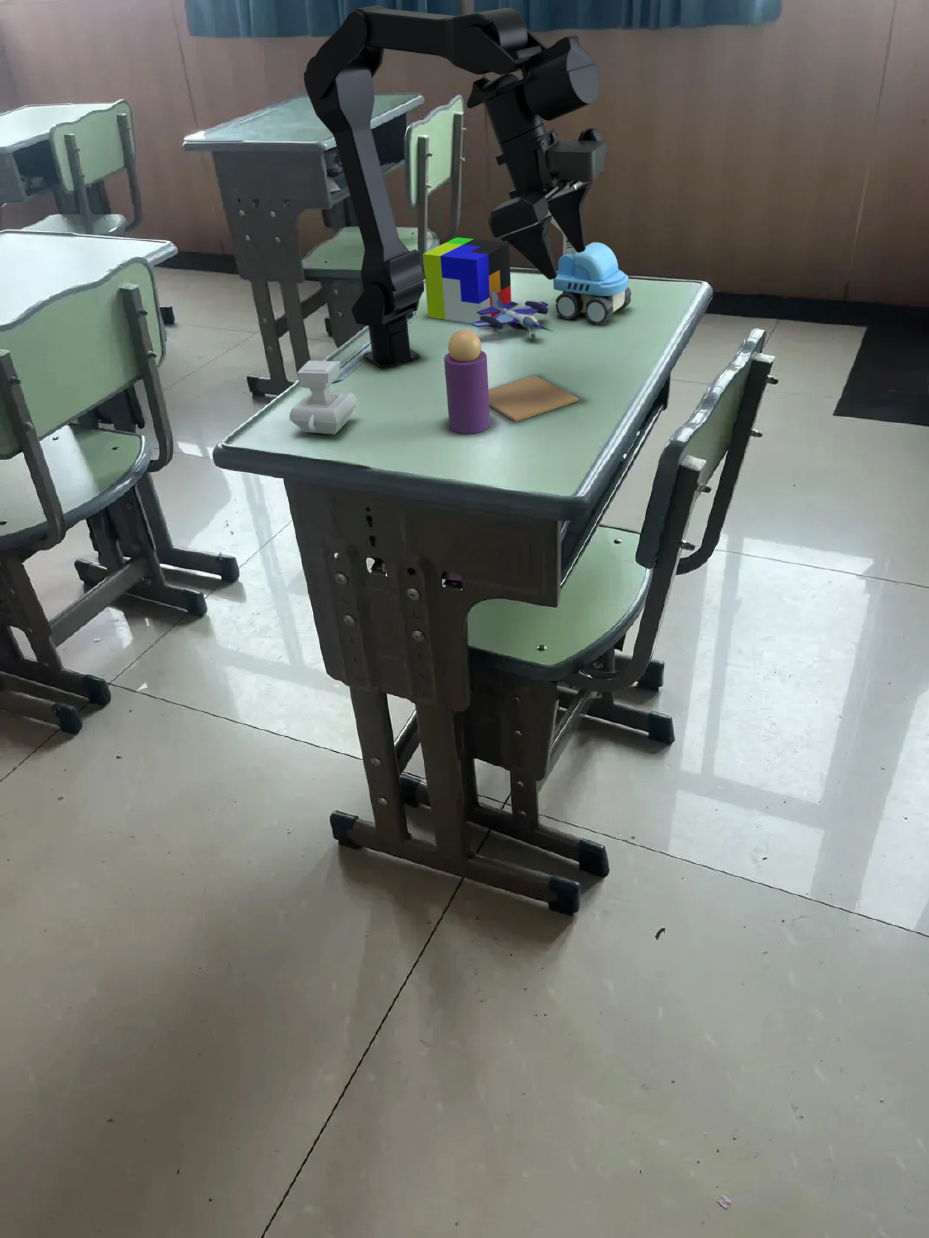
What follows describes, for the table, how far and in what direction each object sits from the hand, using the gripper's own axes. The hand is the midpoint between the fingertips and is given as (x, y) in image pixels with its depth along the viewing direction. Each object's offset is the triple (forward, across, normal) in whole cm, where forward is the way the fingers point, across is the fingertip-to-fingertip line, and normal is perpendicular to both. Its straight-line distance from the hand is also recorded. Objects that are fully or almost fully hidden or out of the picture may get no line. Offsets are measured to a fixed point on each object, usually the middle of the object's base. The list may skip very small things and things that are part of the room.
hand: (567, 264), depth 113 cm
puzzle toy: (+8, +24, +32) cm, 41 cm away
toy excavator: (+14, +29, +17) cm, 36 cm away
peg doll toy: (+12, -15, +13) cm, 23 cm away
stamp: (+6, -22, +29) cm, 36 cm away
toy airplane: (+11, +17, +21) cm, 29 cm away
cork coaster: (+14, -5, +10) cm, 18 cm away
